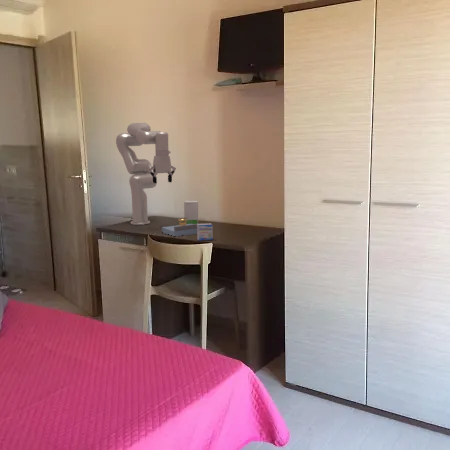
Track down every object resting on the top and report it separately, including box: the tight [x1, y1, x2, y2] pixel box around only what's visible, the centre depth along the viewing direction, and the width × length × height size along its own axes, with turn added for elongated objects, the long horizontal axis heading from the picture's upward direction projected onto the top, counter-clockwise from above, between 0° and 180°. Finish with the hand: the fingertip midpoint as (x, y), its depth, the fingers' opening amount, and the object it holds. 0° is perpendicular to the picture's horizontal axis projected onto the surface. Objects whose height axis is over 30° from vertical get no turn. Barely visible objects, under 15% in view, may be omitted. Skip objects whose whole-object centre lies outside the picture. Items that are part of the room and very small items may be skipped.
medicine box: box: [196, 222, 214, 242], centre depth 280 cm, size 8×4×9 cm, turn 104°
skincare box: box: [183, 200, 199, 224], centre depth 321 cm, size 8×7×16 cm
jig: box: [161, 222, 204, 237], centre depth 301 cm, size 16×20×5 cm
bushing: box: [177, 217, 187, 226], centre depth 301 cm, size 5×5×8 cm
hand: (162, 182), depth 306 cm, fingers open, 9 cm apart
